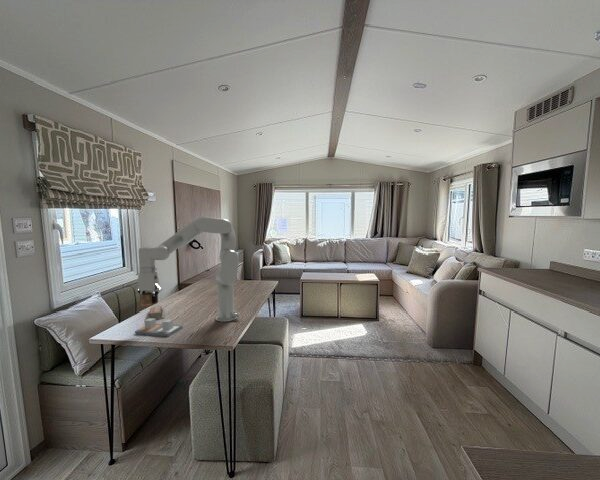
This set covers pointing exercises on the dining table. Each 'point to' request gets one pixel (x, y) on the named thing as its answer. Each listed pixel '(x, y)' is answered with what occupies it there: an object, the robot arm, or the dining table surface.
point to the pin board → (159, 328)
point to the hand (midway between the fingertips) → (149, 302)
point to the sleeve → (147, 299)
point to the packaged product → (156, 313)
